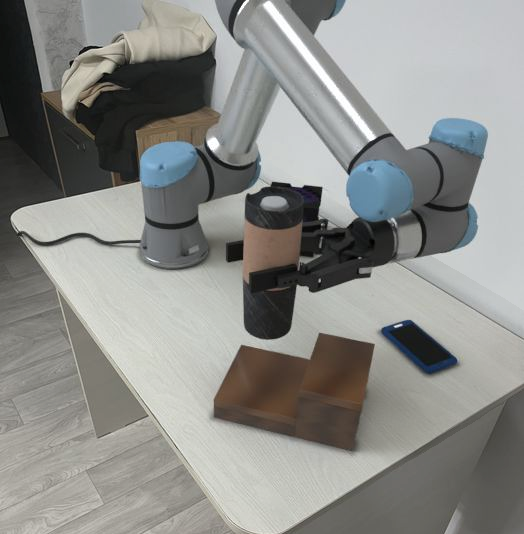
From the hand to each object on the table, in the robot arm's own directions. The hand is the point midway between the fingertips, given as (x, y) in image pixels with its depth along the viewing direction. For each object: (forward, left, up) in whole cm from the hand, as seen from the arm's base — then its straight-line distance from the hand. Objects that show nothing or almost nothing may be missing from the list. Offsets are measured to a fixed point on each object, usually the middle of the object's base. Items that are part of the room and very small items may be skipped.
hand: (238, 267), depth 72 cm
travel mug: (+4, +3, -11) cm, 12 cm away
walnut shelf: (+9, +2, -25) cm, 27 cm away
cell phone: (+28, +24, -25) cm, 45 cm away
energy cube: (-4, +55, -25) cm, 61 cm away
